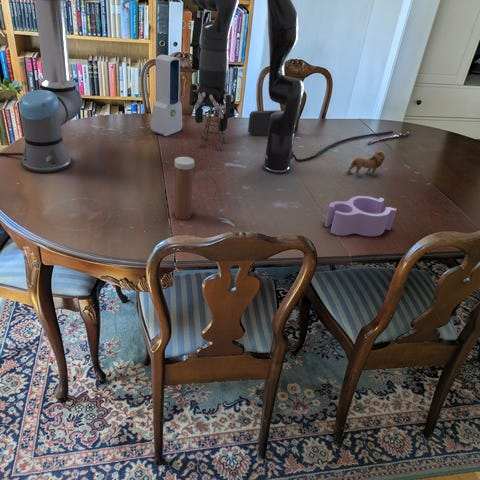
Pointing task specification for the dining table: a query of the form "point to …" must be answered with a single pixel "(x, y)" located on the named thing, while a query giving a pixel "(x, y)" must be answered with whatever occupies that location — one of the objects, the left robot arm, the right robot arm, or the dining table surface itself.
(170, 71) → the electronic device
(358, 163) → the lion figurine
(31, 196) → the dining table surface
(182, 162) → the lid
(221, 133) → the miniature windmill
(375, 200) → the clip
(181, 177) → the jar
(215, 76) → the right robot arm
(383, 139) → the sword
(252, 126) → the handheld gaming console
